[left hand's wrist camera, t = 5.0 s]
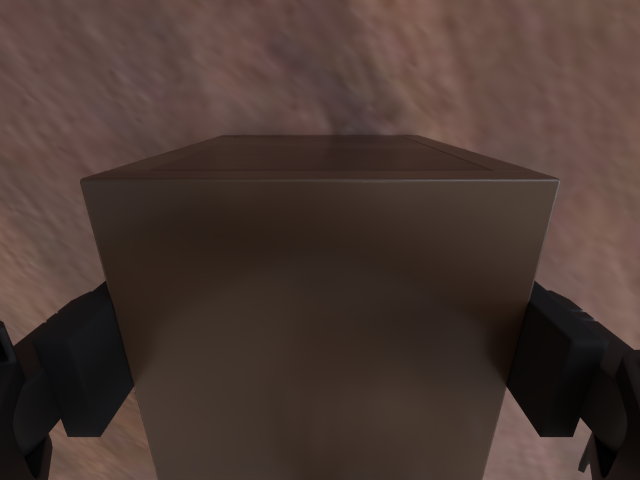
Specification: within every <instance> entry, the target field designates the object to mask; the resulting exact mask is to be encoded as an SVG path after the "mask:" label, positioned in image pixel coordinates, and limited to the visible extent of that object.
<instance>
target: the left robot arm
mask: <svg viewBox="0 0 640 480" xmlns="http://www.w3.org/2000/svg"><path fill="white" fill-rule="evenodd" d="M133 387H134V385H133V382H132V378H131V374H130V370H129V366H128V363H127V359H126V355H125V351H124V347H123V343H122V340H121V336H120V332H119V328H118V324H117V321H116V317H115V313H114V309H113V305H112V302H111V298H110V294H109V290H108V286H107V283H106V281H105V282H104V283H102V284H101V285H100V286H99V287H97V288H96V289H95V290H94V291H92V292H88V293H86V294H84V295H82V296H80V297H78V298H76V299H74V300H72V301H70V302H69V303H68V304H67V305H65V306H64V307H63V308H62V309H60V310H59V311H58V313H55V314H54V315H53V316H51V317H50V318H49V319H47V322H46V323H42V324H41V325H40V326H39V327H37V328H36V329H35V330H33V331H32V332H31V333H30V334H28V335H27V336H26V337H25V338H23V339H22V340H21V341H19V342H18V343H17V344H16V345H14V346H13V345H12V342H11V340H10V337H9V335H8V333H7V330H6V328H5V325H4V323H3V322H2V321H0V480H48V476H49V469H50V462H51V455H52V448H53V447H52V441H51V438H50V436H49V432H50V431H51V430H52V428H53V427H54V426H55V425H56V424H57V422H58V421H59V420H60V419H61V420H62V423H63V426H64V428H65V431H66V433H67V436H68V437H100V436H101V435H102V433H103V432H104V430H105V429H106V427H107V426H108V424H109V423H110V421H111V420H112V418H113V417H114V415H115V414H116V412H117V411H118V409H119V408H120V406H121V405H122V403H123V402H124V400H125V399H126V397H127V396H128V394H129V393H130V391H131V390H132V388H133ZM507 388H508V389H509V391H510V392H511V394H512V395H513V397H514V398H515V400H516V401H517V403H518V404H519V406H520V407H521V409H522V410H523V412H524V413H525V415H526V416H527V418H528V419H529V421H530V422H531V424H532V425H533V427H534V428H535V430H536V431H537V433H538V434H539V436H540V437H573V435H574V432H575V429H576V427H577V424H578V422H579V419H580V418H581V419H582V420H583V421H584V422H585V424H586V425H587V426H588V427H589V428H590V430H591V431H592V433H591V436H590V438H589V441H588V443H587V446H586V448H585V450H584V453H583V455H582V458H581V460H580V463H579V468H578V470H579V471H581V472H583V473H584V471H585V469H586V467H587V465H588V464H590V467H591V474H592V480H640V350H634V349H632V348H631V347H630V346H629V345H627V344H626V343H625V342H623V341H622V340H621V339H620V338H618V337H617V336H616V335H614V334H613V333H612V332H610V331H609V330H608V329H607V328H605V327H604V326H603V325H601V324H600V323H599V322H598V321H595V320H594V318H592V317H591V316H590V315H589V314H587V313H586V312H583V310H582V309H581V308H580V307H578V306H577V305H576V304H574V303H573V302H572V301H571V300H569V299H567V298H565V297H563V296H561V295H559V294H557V293H555V292H553V291H547V290H545V289H544V288H543V287H542V286H541V285H539V284H538V283H537V282H536V281H534V284H533V288H532V292H531V296H530V300H529V304H528V307H527V311H526V315H525V319H524V323H523V326H522V330H521V334H520V338H519V342H518V345H517V349H516V353H515V357H514V361H513V364H512V368H511V372H510V376H509V380H508V383H507Z"/></svg>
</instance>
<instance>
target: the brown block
mask: <svg viewBox="0 0 640 480" xmlns="http://www.w3.org/2000/svg"><path fill="white" fill-rule="evenodd" d="M80 184H81V187H82V191H83V195H84V199H85V203H86V206H87V210H88V214H89V218H90V222H91V225H92V229H93V233H94V237H95V241H96V245H97V248H98V252H99V256H100V260H101V264H102V267H103V271H104V275H105V279H106V283H107V286H108V290H109V294H110V298H111V302H112V305H113V309H114V313H115V317H116V321H117V324H118V328H119V332H120V336H121V340H122V343H123V347H124V351H125V355H126V359H127V363H128V366H129V370H130V374H131V378H132V382H133V385H134V389H135V393H136V397H137V401H138V404H139V408H140V412H141V416H142V420H143V423H144V427H145V431H146V435H147V439H148V442H149V446H150V450H151V454H152V458H153V461H154V465H155V469H156V473H157V477H158V480H482V479H483V475H484V471H485V467H486V463H487V459H488V456H489V452H490V448H491V444H492V440H493V437H494V433H495V429H496V425H497V421H498V418H499V414H500V410H501V406H502V402H503V399H504V395H505V391H506V387H507V383H508V380H509V376H510V372H511V368H512V364H513V361H514V357H515V353H516V349H517V345H518V342H519V338H520V334H521V330H522V326H523V323H524V319H525V315H526V311H527V307H528V304H529V300H530V296H531V292H532V288H533V284H534V281H535V277H536V273H537V269H538V265H539V262H540V258H541V254H542V250H543V246H544V243H545V239H546V235H547V231H548V227H549V224H550V220H551V216H552V212H553V208H554V205H555V201H556V197H557V193H558V189H559V186H560V179H558V178H555V177H552V176H549V175H546V174H542V173H539V172H536V171H532V170H530V169H527V168H523V167H520V166H517V165H514V164H510V163H507V162H504V161H500V160H497V159H494V158H491V157H487V156H484V155H481V154H478V153H474V152H471V151H468V150H464V149H461V148H458V147H455V146H451V145H448V144H445V143H442V142H438V141H435V140H432V139H429V138H425V137H422V136H418V135H245V136H219V137H216V138H213V139H209V140H206V141H203V142H200V143H196V144H193V145H190V146H187V147H183V148H180V149H177V150H174V151H170V152H167V153H164V154H161V155H157V156H154V157H151V158H148V159H144V160H141V161H138V162H135V163H131V164H128V165H125V166H122V167H118V168H115V169H112V170H110V171H105V172H101V173H98V174H95V175H92V176H88V177H85V178H82V179H81V180H80Z"/></svg>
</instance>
